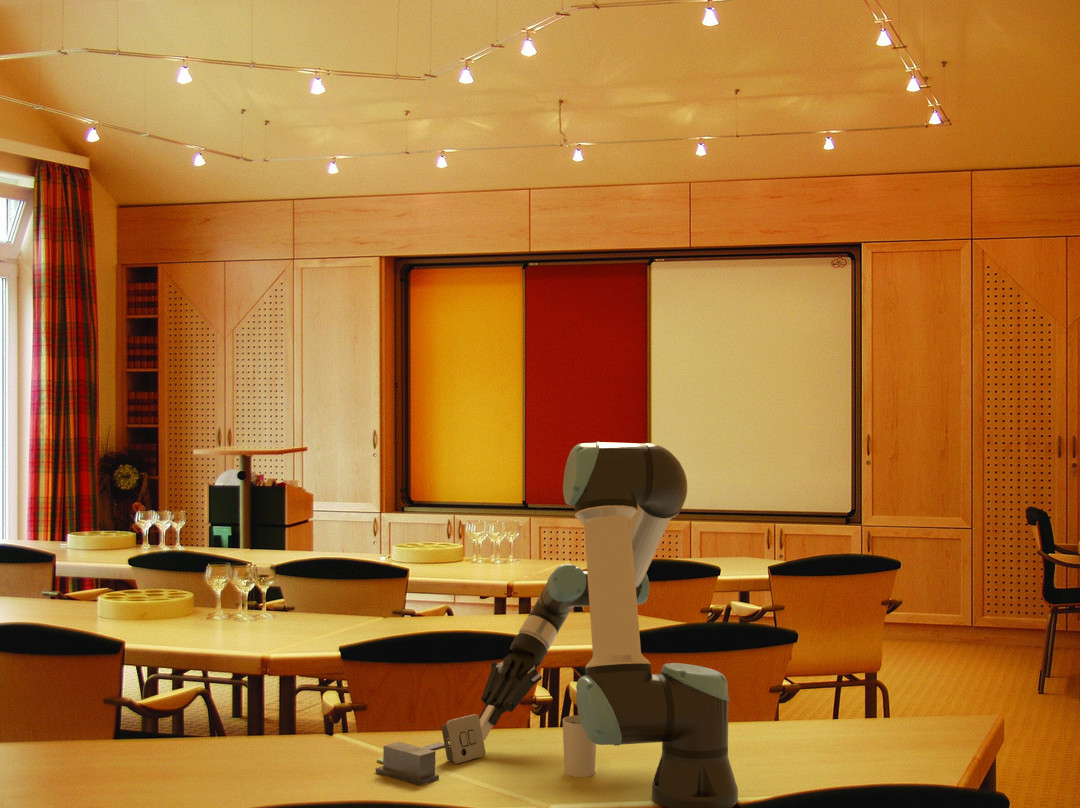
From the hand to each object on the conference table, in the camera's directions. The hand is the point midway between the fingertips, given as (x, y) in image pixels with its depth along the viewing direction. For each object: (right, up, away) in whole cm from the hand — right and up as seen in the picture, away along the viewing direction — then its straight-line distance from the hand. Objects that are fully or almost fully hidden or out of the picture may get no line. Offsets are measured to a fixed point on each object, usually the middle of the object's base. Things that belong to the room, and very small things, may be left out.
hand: (478, 736), depth 220 cm
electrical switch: (-3, -3, -4) cm, 6 cm away
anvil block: (-12, -3, -16) cm, 20 cm away
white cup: (+20, -3, -13) cm, 24 cm away
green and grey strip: (-13, -3, -1) cm, 14 cm away
